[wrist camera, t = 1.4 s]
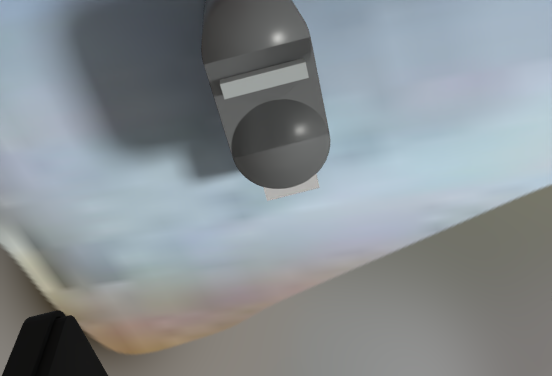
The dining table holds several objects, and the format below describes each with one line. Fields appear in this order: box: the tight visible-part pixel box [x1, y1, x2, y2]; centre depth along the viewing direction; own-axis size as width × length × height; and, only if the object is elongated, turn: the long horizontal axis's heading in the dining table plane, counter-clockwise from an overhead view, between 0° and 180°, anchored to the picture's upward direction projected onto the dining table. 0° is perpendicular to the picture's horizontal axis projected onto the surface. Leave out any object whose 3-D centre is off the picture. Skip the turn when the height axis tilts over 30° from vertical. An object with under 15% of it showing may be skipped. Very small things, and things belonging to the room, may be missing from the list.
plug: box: [201, 0, 330, 201], centre depth 23 cm, size 10×4×6 cm, turn 13°
